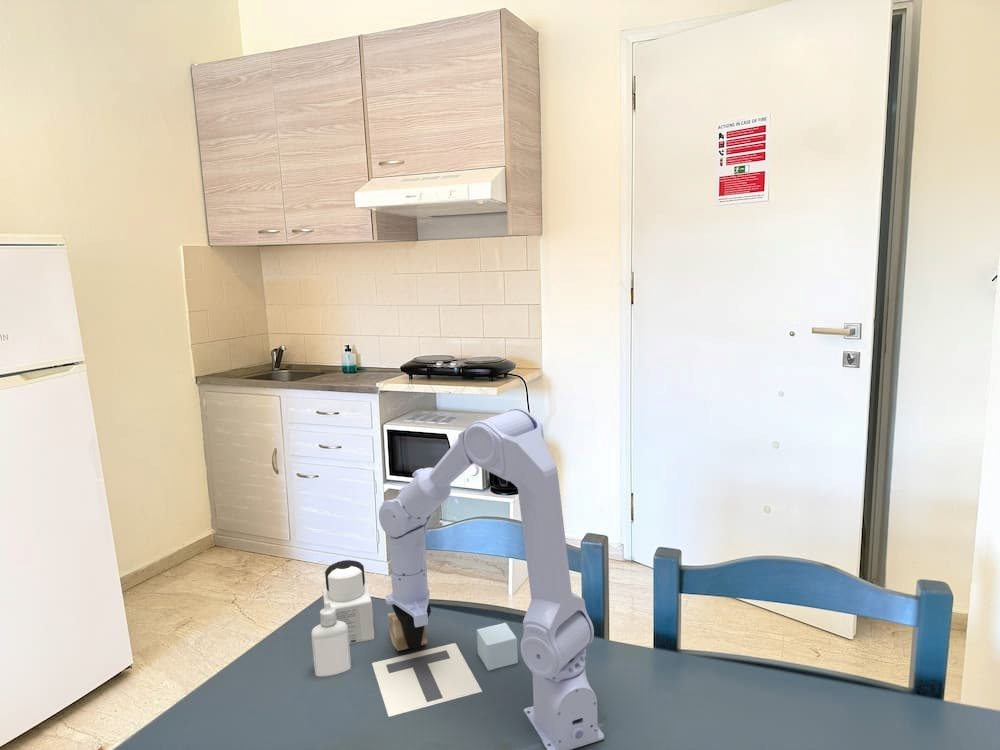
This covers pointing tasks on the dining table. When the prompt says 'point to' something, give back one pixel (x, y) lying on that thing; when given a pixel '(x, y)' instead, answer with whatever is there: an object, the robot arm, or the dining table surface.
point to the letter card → (424, 679)
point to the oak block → (400, 633)
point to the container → (350, 598)
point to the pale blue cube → (497, 646)
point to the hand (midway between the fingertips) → (413, 645)
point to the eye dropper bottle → (330, 644)
